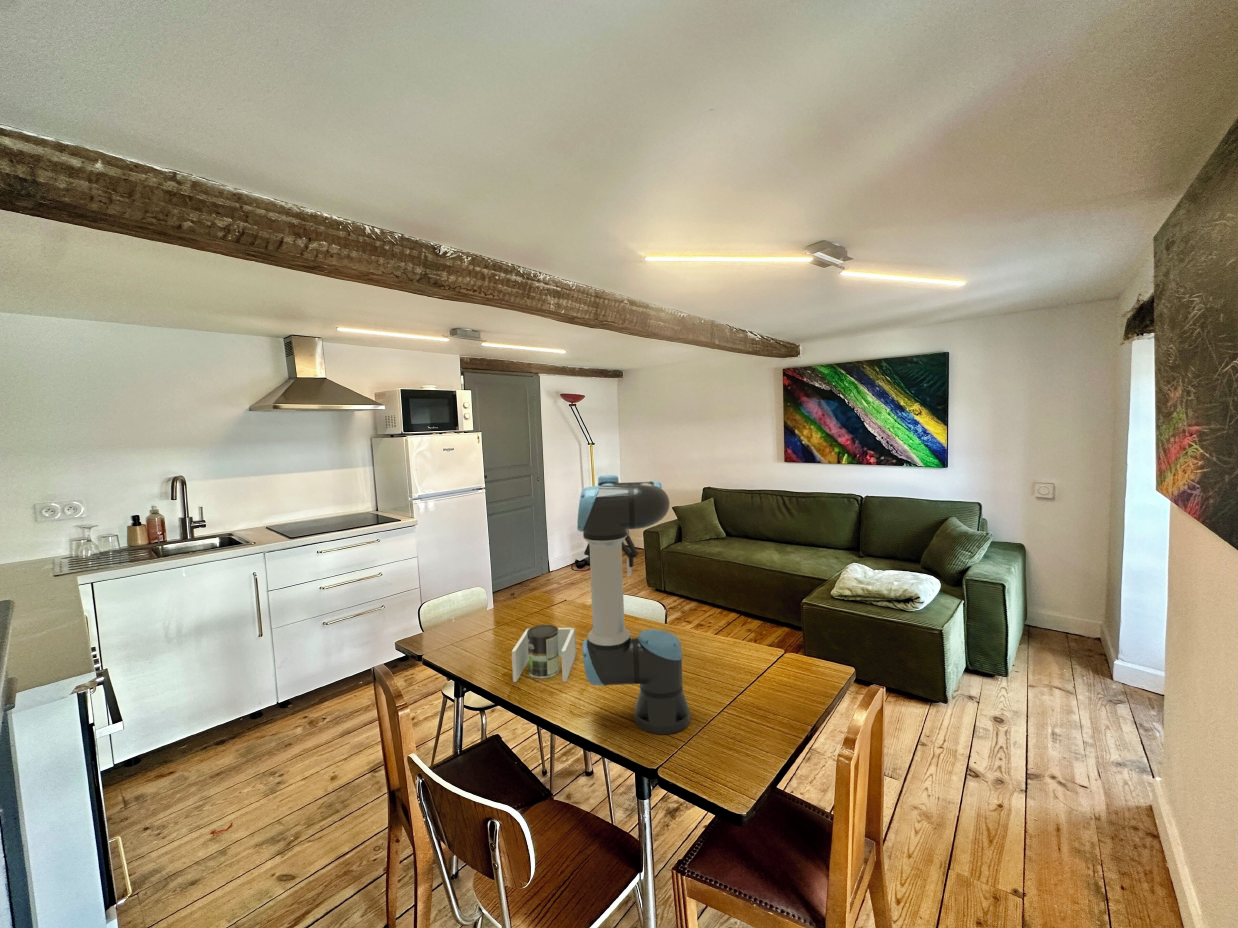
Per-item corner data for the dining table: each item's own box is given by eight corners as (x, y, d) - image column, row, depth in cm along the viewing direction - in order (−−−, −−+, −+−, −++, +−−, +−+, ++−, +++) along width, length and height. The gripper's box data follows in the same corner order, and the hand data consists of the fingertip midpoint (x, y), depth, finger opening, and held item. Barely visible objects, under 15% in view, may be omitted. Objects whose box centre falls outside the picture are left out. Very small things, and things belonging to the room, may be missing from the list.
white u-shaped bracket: (566, 681, 156) (565, 651, 155) (513, 681, 157) (511, 651, 157) (575, 655, 175) (574, 627, 174) (528, 655, 176) (527, 628, 176)
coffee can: (532, 681, 157) (530, 638, 156) (526, 667, 166) (524, 627, 166) (563, 674, 160) (561, 633, 160) (556, 661, 170) (554, 622, 169)
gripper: (645, 516, 178) (647, 573, 179) (582, 515, 186) (584, 570, 187) (639, 519, 171) (641, 579, 172) (574, 518, 179) (576, 575, 179)
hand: (611, 574), depth 179 cm, fingers open, 13 cm apart
